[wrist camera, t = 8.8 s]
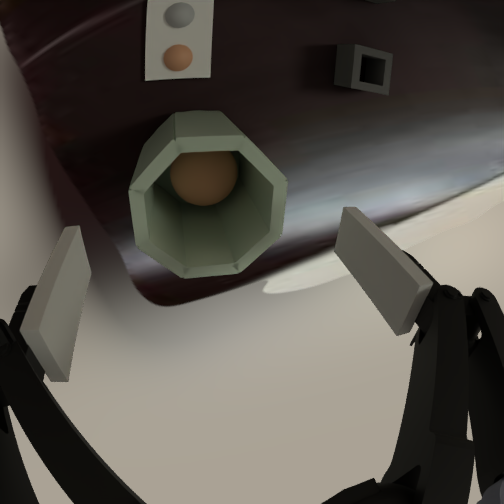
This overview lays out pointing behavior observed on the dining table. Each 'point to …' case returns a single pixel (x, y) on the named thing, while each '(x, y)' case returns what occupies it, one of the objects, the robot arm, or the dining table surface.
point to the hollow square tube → (374, 72)
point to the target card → (178, 39)
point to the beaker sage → (212, 216)
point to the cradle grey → (381, 1)
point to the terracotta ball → (204, 176)
